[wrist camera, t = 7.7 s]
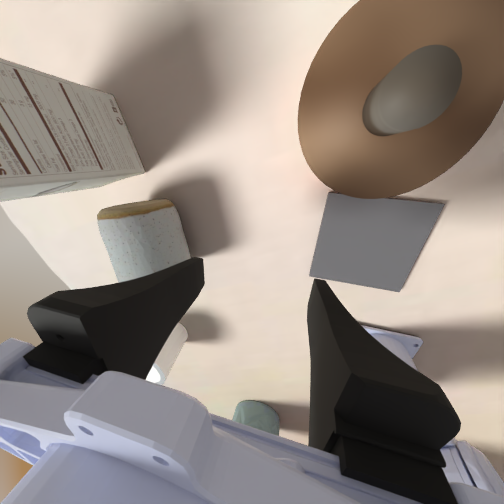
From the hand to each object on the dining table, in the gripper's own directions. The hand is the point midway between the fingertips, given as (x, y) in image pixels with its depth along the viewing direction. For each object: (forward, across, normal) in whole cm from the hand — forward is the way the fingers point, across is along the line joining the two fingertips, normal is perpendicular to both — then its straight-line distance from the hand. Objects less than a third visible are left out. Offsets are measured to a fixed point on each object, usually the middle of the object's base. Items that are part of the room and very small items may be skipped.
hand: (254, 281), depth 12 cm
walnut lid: (+5, -6, -10) cm, 13 cm away
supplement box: (+10, +19, -7) cm, 22 cm away
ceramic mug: (+10, +14, +2) cm, 17 cm away
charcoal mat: (+9, -9, 0) cm, 13 cm away
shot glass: (+10, +15, +20) cm, 27 cm away
